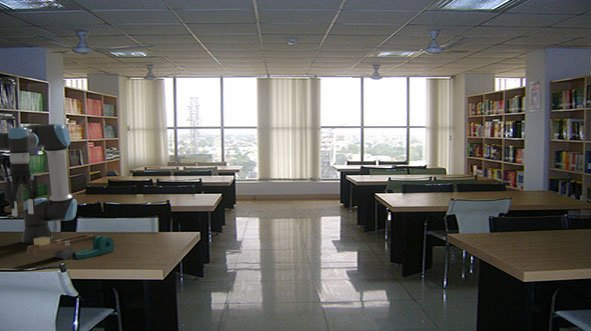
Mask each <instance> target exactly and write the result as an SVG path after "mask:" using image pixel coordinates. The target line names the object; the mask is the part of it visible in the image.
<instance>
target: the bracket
mask: <svg viewBox="0 0 591 331" xmlns="http://www.w3.org/2000/svg"><path fill="white" fill-rule="evenodd" d="M114 246H115V245H114V240H113V238H111V237H110V236H102V235H98V236H95V239H94V241H93V243H92V248H90V249H86V250H82V251H77V252H75V253H74V259H76V258H77V259H76V260H82V259H83V258H84V259H88V258H92V257H93V258H94V257H97V256H100V255H105V254H108V253H112V251H113V252H114V251H115V249H114V248H115V247H114Z"/></svg>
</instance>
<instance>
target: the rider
mask: <svg viewBox="0 0 591 331" xmlns="http://www.w3.org/2000/svg"><path fill="white" fill-rule="evenodd" d="M50 242H51V240H50V237H45V236H44V237H39V238H34V243H33V245H34V247H41V246H46V245H50Z"/></svg>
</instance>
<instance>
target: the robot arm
mask: <svg viewBox="0 0 591 331" xmlns="http://www.w3.org/2000/svg"><path fill="white" fill-rule="evenodd" d="M70 145H71V134H70V131H69V129H68V127H67V126H66V125H65V124H58V123H49V124H48V123H47V124H45V123H44V124H30V125H26V126H25V125H24V126H21V127H10V128H9V129H8V130H7V131H0V150H9V162H10V166H9V167H10V169H9V170H10V173H11V174H10V175H9V176H8V177H3V181H4V200H5V201H8V203H9V209H10V210H11V216H12V217H18V204H17V200H16V197H17V193H18V190H19V187H20V185H23V186H24V189H25V191H26V193H27V196H28V199H27V200H26V201H24V203H23V221H24V230H23V233H22V236H21V243H23V244H34V238H39V237H44V236H45V237H50V241H53V239H54V238H53V237H54V236H53V233H52V231H51V229H50V227H49V222H60V221H61V222H64V221H72V220H74V218H75V217H76V214H77V209H78V202H77V201H78V200H77V199H76V198H73V194H72V193H70V190H69V188H70V187H69V180H68V171H67V169H68V168H67V162H66V161H67V159H66V151H67V150H68V147H69V146H70ZM36 147H43V152H45V153H46V154H47V162H48V171H49V180H50V189H51V195H50V197H49V199H48V198H47V197H41V198H40V197H39V195H40V194H39V188H38V182H37V181H38V175H34V174H31V172H30V171H31V164H30V161H31V160H30V150H31V149H34V148H36ZM11 186H12V188H11ZM38 197H39V198H38Z"/></svg>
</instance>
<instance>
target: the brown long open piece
mask: <svg viewBox="0 0 591 331" xmlns="http://www.w3.org/2000/svg"><path fill="white" fill-rule="evenodd" d="M95 238H96V235H95V234H94V235H93V234H85V233H84V234H80V235H75V236H71V237H65V238H61V239H56V240H50V245H46V246H41V247H34V244H32V245H28V246H26V254H27V255H32V256H33V255H34V256H40V255H45V254H48V253H53V257H54V258H56V259H57V258H58V259H63V260H66V259H71V258H74V252H73V251H74V250H73V248H75V247H79V246H83V245H89V244H93V241H94V239H95Z"/></svg>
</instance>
